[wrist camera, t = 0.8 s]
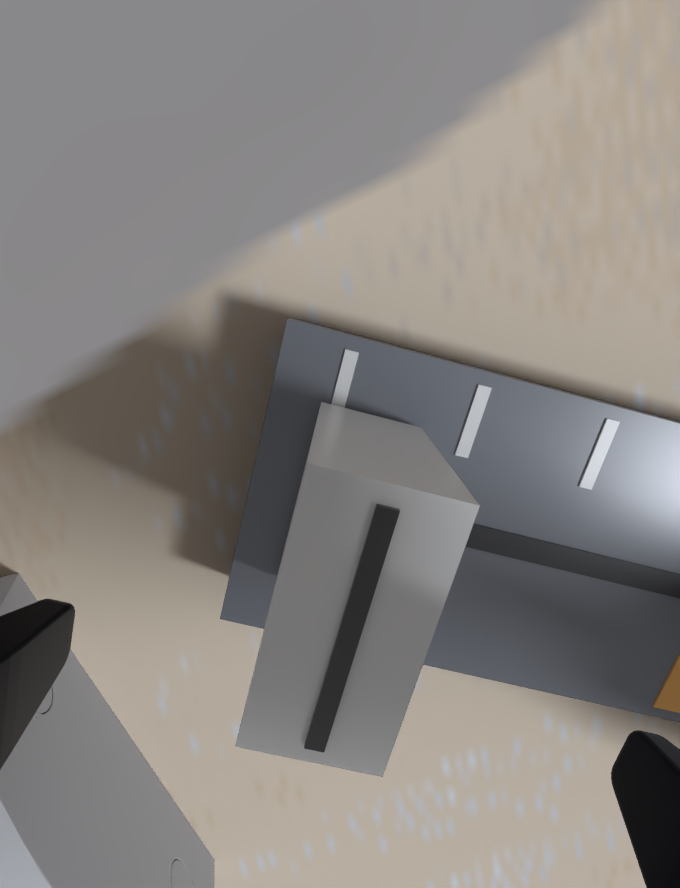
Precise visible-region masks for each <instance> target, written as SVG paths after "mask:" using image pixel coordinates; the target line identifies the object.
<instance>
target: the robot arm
mask: <svg viewBox="0 0 680 888" xmlns="http://www.w3.org/2000/svg"><path fill="white" fill-rule="evenodd" d="M74 617H75V609H74V606H73V605H72V604H70V603H66V602H62V601H57V600H53V599H44V600H40V601H38V602H35V603H32V604H30V605H27V606H25V607H22V608H20V609H17V610H14V611H12V612H9V613H7V614H4V615H1V616H0V770H1V768H2V767H3V765H4V764H5V762H6V760H7V759H8V757H9V756H10V754H11V753H12V751H13V749H14V748H15V746H16V744H17V743H18V741H19V739H20V738H21V736H22V734H23V733H24V731H25V729H26V728H27V726H28V725H29V723H30V721H31V720H32V718H33V716H34V715H35V713H36V711H37V710H38V708H39V706H40V705H41V703H42V701H43V700H44V698H45V697H46V695H47V693H48V692H49V690H50V688H51V687H52V685H53V683H54V682H55V680H56V678H57V677H58V675H59V674H60V672H61V670H62V669H63V667H64V665H65V663H66V661H67V658H68V656H69V652H70V647H71V639H72V632H73V624H74ZM611 780H612V785H613V789H614V792H615V795H616V798H617V801H618V804H619V807H620V810H621V813H622V816H623V819H624V822H625V825H626V828H627V831H628V834H629V837H630V840H631V843H632V846H633V848H634V851H635V854H636V857H637V860H638V863H639V866H640V869H641V872H642V875H643V878H644V881H645V884H646V887H647V888H680V749H678V748H677V747H676V746H674V745H673V744H672V743H670V742H669V741H668V740H667V739H665V738H664V737H662V736H660V735H657V734H652V733H648V732H643V731H633V732H632V733H631V734H629V736H628V737H627V739H626V741H625V743H624V745H623V747H622V749H621V751H620V753H619V755H618V757H617V759H616V761H615V763H614V765H613V767H612V772H611Z"/></svg>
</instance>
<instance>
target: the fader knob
mask: <svg viewBox="0 0 680 888" xmlns="http://www.w3.org/2000/svg"><path fill="white" fill-rule="evenodd" d="M479 507H480V505H479V504H478V502H477V501H476V500H475V498H474V497H473V496H472V494H471V493H470V492H469V490H468V489H467V488H466V486H465V485H464V484H463V482H462V481H461V480H460V478H459V477H458V476H457V474H456V473H455V472H454V470H453V469H452V468H451V467H450V465H449V464H448V463H447V461H446V460H445V459H444V457H443V456H442V455H441V453H440V452H439V451H438V449H437V448H436V447H435V445H434V444H433V443H432V441H431V440H430V439H429V437H428V436H427V435H426V433H425V432H424V431H423V429H422V428H421V427H417V426H413V425H410V424H406V423H402V422H398V421H394V420H390V419H386V418H382V417H378V416H375V415H371V414H367V413H363V412H359V411H355V410H351V409H347V408H343V407H340V406H336V405H332V404H328V403H324V402H321V405H320V409H319V413H318V417H317V421H316V425H315V429H314V433H313V437H312V441H311V445H310V449H309V453H308V457H307V461H306V464H305V468H304V472H303V476H302V480H301V484H300V488H299V492H298V496H297V500H296V504H295V508H294V512H293V516H292V520H291V524H290V528H289V532H288V536H287V540H286V544H285V548H284V551H283V555H282V559H281V563H280V567H279V571H278V575H277V579H276V583H275V587H274V591H273V595H272V599H271V603H270V607H269V611H268V616H267V620H266V624H265V628H264V632H263V636H262V640H261V644H260V648H259V652H258V656H257V660H256V664H255V668H254V672H253V676H252V680H251V684H250V688H249V693H248V697H247V701H246V705H245V709H244V713H243V717H242V721H241V725H240V729H239V733H238V737H237V741H236V745H235V746H236V747H240V748H245V749H250V750H255V751H260V752H265V753H269V754H274V755H279V756H284V757H289V758H294V759H298V760H303V761H308V762H313V763H318V764H322V765H327V766H332V767H337V768H342V769H347V770H351V771H356V772H361V773H366V774H371V775H376V776H380V777H383V774H384V771H385V769H386V766H387V763H388V760H389V757H390V755H391V752H392V749H393V746H394V744H395V741H396V738H397V735H398V732H399V730H400V727H401V724H402V721H403V719H404V716H405V713H406V710H407V707H408V705H409V702H410V699H411V696H412V693H413V691H414V688H415V685H416V682H417V680H418V677H419V674H420V671H421V668H422V666H423V663H424V660H425V657H426V655H427V652H428V649H429V646H430V643H431V641H432V638H433V635H434V632H435V629H436V627H437V624H438V621H439V618H440V616H441V613H442V610H443V607H444V604H445V602H446V599H447V596H448V593H449V591H450V588H451V585H452V582H453V579H454V577H455V574H456V571H457V568H458V566H459V563H460V560H461V557H462V554H463V552H464V549H465V546H466V543H467V540H468V538H469V535H470V532H471V529H472V527H473V524H474V521H475V518H476V515H477V513H478V510H479Z"/></svg>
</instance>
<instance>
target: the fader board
mask: <svg viewBox="0 0 680 888" xmlns="http://www.w3.org/2000/svg"><path fill="white" fill-rule="evenodd" d="M321 402H324V403H328V404H332V405H336V406H340V407H343V408H347V409H351V410H355V411H359V412H363V413H367V414H371V415H375V416H378V417H382V418H386V419H390V420H394V421H398V422H402V423H406V424H410V425H413V426H417V427H421V428H422V429H423V431H424V432H425V433H426V435H427V436H428V437H429V439H430V440H431V441H432V443H433V444H434V445H435V447H436V448H437V449H438V451H439V452H440V453H441V455H442V456H443V457H444V459H445V460H446V461H447V463H448V464H449V465H450V467H451V468H452V469H453V470H454V472H455V473H456V474H457V476H458V477H459V478H460V480H461V481H462V482H463V484H464V485H465V486H466V488H467V489H468V490H469V492H470V493H471V494H472V496H473V497H474V498H475V500H476V501H477V502H478V504H479V505H480V507H479V510H478V513H477V515H476V518H475V521H474V524H473V527H472V529H471V532H470V535H469V538H468V540H467V543H466V546H465V549H464V552H463V554H462V557H461V560H460V563H459V566H458V568H457V571H456V574H455V577H454V579H453V582H452V585H451V588H450V591H449V593H448V596H447V599H446V602H445V604H444V607H443V610H442V613H441V616H440V618H439V621H438V624H437V627H436V629H435V632H434V635H433V638H432V641H431V643H430V646H429V649H428V652H427V655H426V657H425V660H424V663H423V665H428V666H432V667H437V668H441V669H446V670H450V671H454V672H459V673H463V674H468V675H472V676H477V677H481V678H486V679H490V680H495V681H499V682H504V683H508V684H512V685H517V686H521V687H526V688H530V689H535V690H539V691H544V692H548V693H553V694H557V695H562V696H566V697H570V698H575V699H579V700H584V701H588V702H593V703H597V704H602V705H606V706H611V707H615V708H620V709H624V710H628V711H633V712H637V713H642V714H646V715H651V716H655V717H660V718H664V719H669V720H673V721H678V722H680V422H679V421H675V420H671V419H668V418H664V417H660V416H656V415H653V414H649V413H645V412H641V411H638V410H634V409H630V408H627V407H623V406H619V405H615V404H612V403H608V402H604V401H600V400H597V399H593V398H589V397H585V396H582V395H578V394H574V393H570V392H567V391H563V390H559V389H556V388H552V387H548V386H544V385H541V384H537V383H533V382H529V381H526V380H522V379H518V378H514V377H511V376H507V375H503V374H500V373H496V372H492V371H488V370H485V369H481V368H477V367H473V366H470V365H466V364H462V363H458V362H455V361H451V360H447V359H444V358H440V357H436V356H432V355H429V354H425V353H421V352H417V351H414V350H410V349H406V348H402V347H399V346H395V345H391V344H387V343H384V342H380V341H376V340H373V339H369V338H365V337H361V336H358V335H354V334H350V333H346V332H343V331H339V330H335V329H331V328H328V327H324V326H320V325H317V324H313V323H309V322H305V321H302V320H298V319H287V322H286V327H285V331H284V335H283V340H282V344H281V349H280V353H279V358H278V362H277V367H276V371H275V376H274V380H273V384H272V389H271V393H270V398H269V402H268V407H267V411H266V416H265V420H264V425H263V429H262V434H261V438H260V442H259V447H258V451H257V456H256V460H255V465H254V469H253V474H252V478H251V483H250V487H249V491H248V496H247V500H246V505H245V509H244V514H243V518H242V523H241V527H240V532H239V536H238V541H237V545H236V549H235V554H234V558H233V563H232V567H231V572H230V576H229V581H228V585H227V590H226V594H225V599H224V603H223V607H222V612H221V616H220V619H223V620H227V621H231V622H236V623H240V624H245V625H249V626H254V627H258V628H263V629H264V628H265V624H266V620H267V616H268V611H269V607H270V603H271V599H272V595H273V591H274V587H275V583H276V579H277V575H278V571H279V567H280V563H281V559H282V555H283V551H284V548H285V544H286V540H287V536H288V532H289V528H290V524H291V520H292V516H293V512H294V508H295V504H296V500H297V496H298V492H299V488H300V484H301V480H302V476H303V472H304V468H305V464H306V461H307V457H308V453H309V449H310V445H311V441H312V437H313V433H314V429H315V425H316V421H317V417H318V413H319V409H320V405H321Z"/></svg>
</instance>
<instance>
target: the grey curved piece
mask: <svg viewBox="0 0 680 888" xmlns="http://www.w3.org/2000/svg"><path fill="white" fill-rule="evenodd" d="M35 602H38V601H37V600H36V598H35V597H34V595H33V594H32V592H31V591H30V589H29V588H28V586H27V585H26V583H25V582H24V581H23V579H22V578H21V576H20V575H19V573H18V574H12V575H7V576H4V577H0V616H1V615H4V614H7V613H9V612H12V611H14V610H17V609H20V608H22V607H25V606H27V605H30V604H32V603H35ZM0 888H214V858H213V857H212V855H211V854H210V852H209V851H208V849H207V848H206V847H205V845H204V844H203V842H202V841H201V839H200V838H199V836H198V835H197V833H196V832H195V830H194V829H193V828H192V826H191V825H190V823H189V822H188V820H187V819H186V817H185V816H184V814H183V813H182V811H181V810H180V809H179V807H178V806H177V804H176V803H175V801H174V800H173V798H172V797H171V795H170V794H169V792H168V791H167V790H166V788H165V787H164V785H163V784H162V782H161V781H160V779H159V778H158V776H157V775H156V773H155V772H154V771H153V769H152V768H151V766H150V765H149V763H148V762H147V760H146V759H145V757H144V756H143V754H142V753H141V752H140V750H139V749H138V747H137V746H136V744H135V743H134V741H133V740H132V738H131V737H130V735H129V734H128V733H127V731H126V730H125V728H124V727H123V725H122V724H121V722H120V721H119V719H118V718H117V716H116V715H115V714H114V712H113V711H112V709H111V708H110V706H109V705H108V703H107V702H106V700H105V699H104V697H103V696H102V695H101V693H100V692H99V690H98V689H97V687H96V686H95V684H94V683H93V681H92V680H91V678H90V677H89V676H88V674H87V673H86V671H85V670H84V668H83V667H82V665H81V664H80V662H79V661H78V659H77V658H76V657H75V655H74V654H73V652H72V651H71V649H70V652H69V656H68V658H67V661H66V663H65V665H64V667H63V669H62V670H61V672H60V674H59V675H58V677H57V678H56V680H55V682H54V683H53V685H52V687H51V688H50V690H49V692H48V693H47V695H46V697H45V698H44V700H43V701H42V703H41V705H40V706H39V708H38V710H37V711H36V713H35V715H34V716H33V718H32V720H31V721H30V723H29V725H28V726H27V728H26V729H25V731H24V733H23V734H22V736H21V738H20V739H19V741H18V743H17V744H16V746H15V748H14V749H13V751H12V753H11V754H10V756H9V757H8V759H7V760H6V762H5V764H4V765H3V767H2V768H1V770H0Z"/></svg>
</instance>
